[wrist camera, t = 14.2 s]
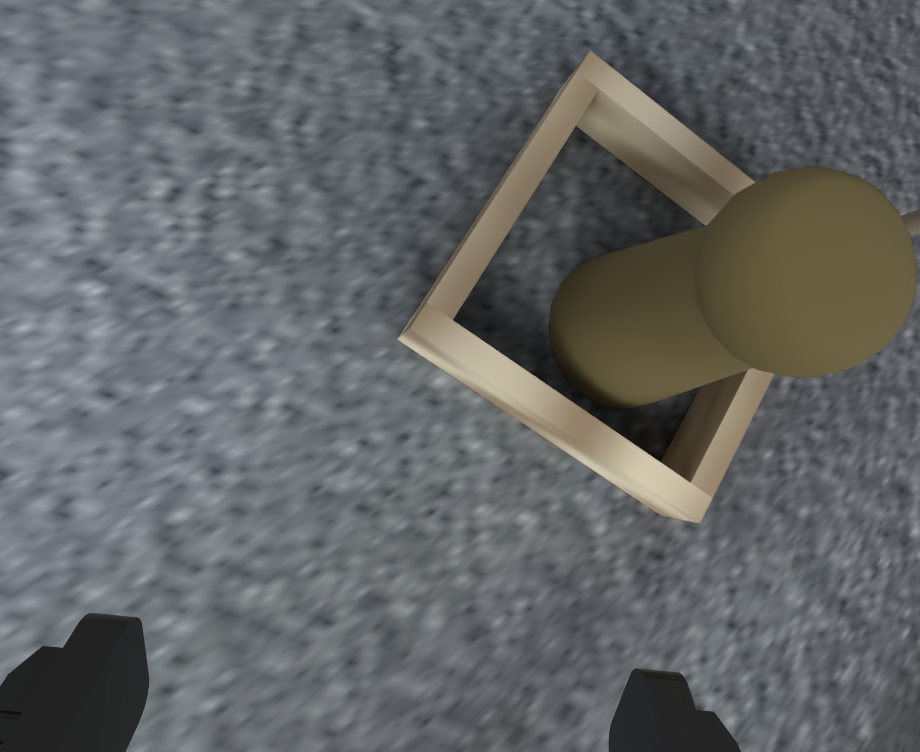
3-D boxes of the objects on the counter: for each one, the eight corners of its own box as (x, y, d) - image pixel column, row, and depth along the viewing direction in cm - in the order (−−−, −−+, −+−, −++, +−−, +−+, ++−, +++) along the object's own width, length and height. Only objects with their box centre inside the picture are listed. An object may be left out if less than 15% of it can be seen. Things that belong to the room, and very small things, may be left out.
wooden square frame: (397, 339, 23) (613, 151, 8) (571, 71, 26) (986, -458, 11) (754, 577, 26) (1429, 779, 11) (879, 313, 29) (1560, 171, 13)
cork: (601, 222, 26) (821, 74, 15) (716, 315, 27) (998, 236, 16) (518, 346, 25) (697, 278, 14) (642, 440, 25) (898, 442, 15)
